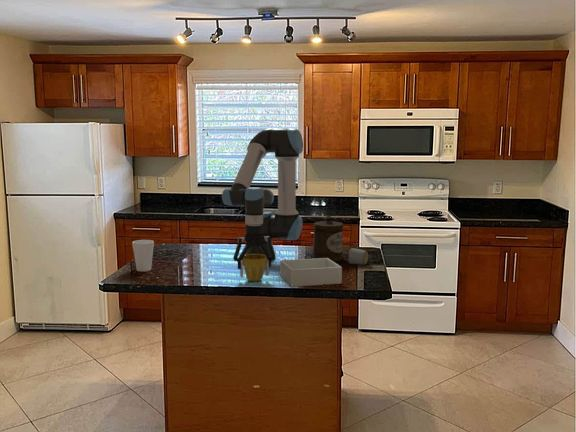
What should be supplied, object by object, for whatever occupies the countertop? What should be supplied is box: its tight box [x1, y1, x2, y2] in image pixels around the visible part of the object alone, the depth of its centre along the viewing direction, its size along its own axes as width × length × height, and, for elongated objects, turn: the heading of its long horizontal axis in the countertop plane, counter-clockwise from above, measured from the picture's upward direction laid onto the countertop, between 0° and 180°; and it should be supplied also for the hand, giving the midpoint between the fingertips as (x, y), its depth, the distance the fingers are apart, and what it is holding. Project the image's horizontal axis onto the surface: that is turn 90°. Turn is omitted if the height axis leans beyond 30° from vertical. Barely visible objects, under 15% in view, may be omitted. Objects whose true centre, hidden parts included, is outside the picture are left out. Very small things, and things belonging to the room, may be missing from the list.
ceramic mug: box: [348, 247, 369, 266], centre depth 264 cm, size 11×8×8 cm
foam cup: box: [132, 239, 155, 272], centre depth 246 cm, size 10×9×13 cm
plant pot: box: [242, 254, 267, 282], centre depth 229 cm, size 10×10×10 cm
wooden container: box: [312, 215, 344, 263], centre depth 273 cm, size 15×15×22 cm
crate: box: [279, 258, 343, 287], centre depth 233 cm, size 18×22×7 cm
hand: (254, 275), depth 230 cm, fingers closed on plant pot, 10 cm apart
